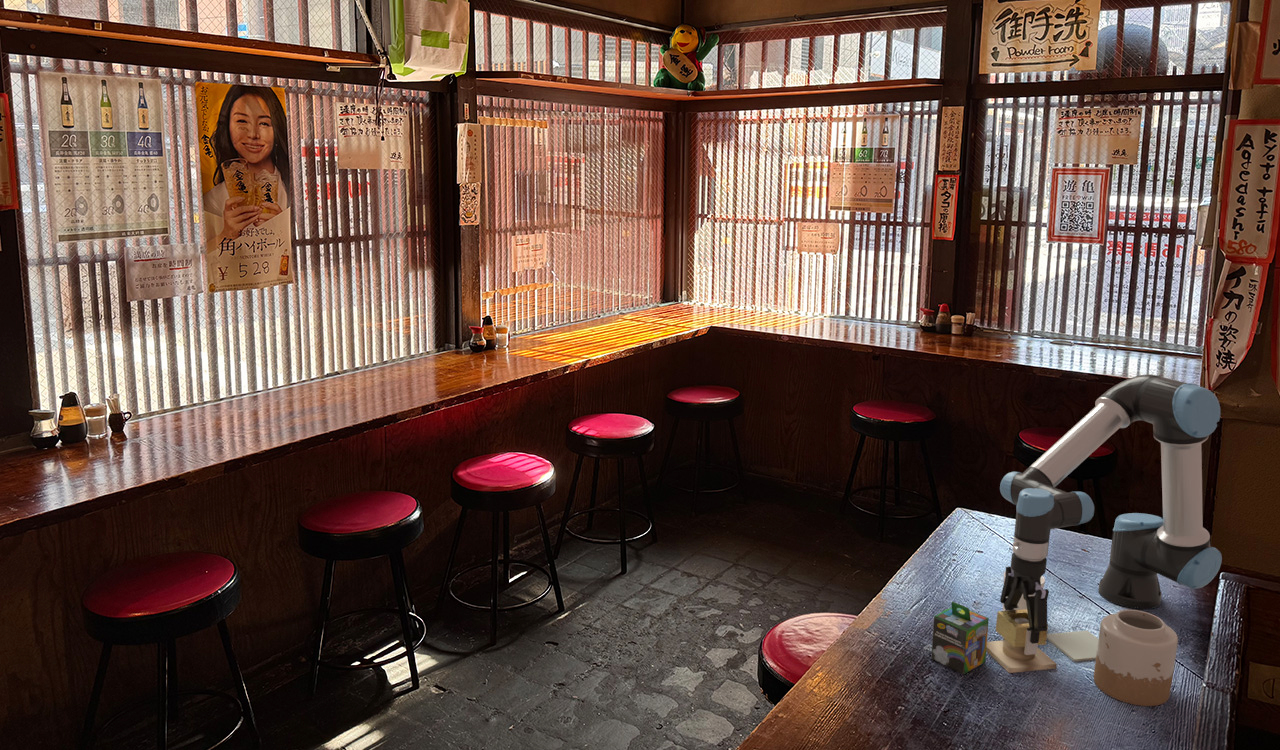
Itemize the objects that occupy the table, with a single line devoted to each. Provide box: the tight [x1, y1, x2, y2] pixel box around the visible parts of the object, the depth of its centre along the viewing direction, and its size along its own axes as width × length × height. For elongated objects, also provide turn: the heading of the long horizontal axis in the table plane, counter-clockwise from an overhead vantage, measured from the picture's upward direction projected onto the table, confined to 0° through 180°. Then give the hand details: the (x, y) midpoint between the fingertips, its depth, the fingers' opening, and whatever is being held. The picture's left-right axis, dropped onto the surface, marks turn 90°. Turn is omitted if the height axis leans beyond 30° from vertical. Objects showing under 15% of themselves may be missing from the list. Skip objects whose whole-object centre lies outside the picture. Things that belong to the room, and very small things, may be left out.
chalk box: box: [931, 601, 990, 675], centre depth 219 cm, size 9×9×15 cm
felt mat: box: [1046, 630, 1099, 663], centre depth 227 cm, size 12×12×1 cm
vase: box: [1093, 609, 1179, 707], centre depth 208 cm, size 15×15×17 cm
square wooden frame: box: [995, 609, 1049, 647], centre depth 221 cm, size 8×8×5 cm
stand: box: [986, 618, 1058, 674], centre depth 221 cm, size 12×12×10 cm
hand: (1019, 644), depth 222 cm, fingers closed on square wooden frame, 8 cm apart
